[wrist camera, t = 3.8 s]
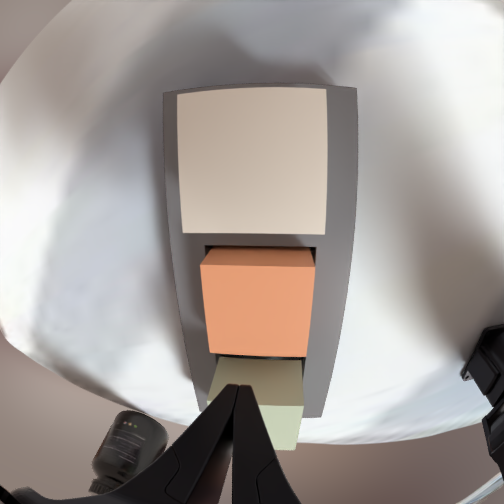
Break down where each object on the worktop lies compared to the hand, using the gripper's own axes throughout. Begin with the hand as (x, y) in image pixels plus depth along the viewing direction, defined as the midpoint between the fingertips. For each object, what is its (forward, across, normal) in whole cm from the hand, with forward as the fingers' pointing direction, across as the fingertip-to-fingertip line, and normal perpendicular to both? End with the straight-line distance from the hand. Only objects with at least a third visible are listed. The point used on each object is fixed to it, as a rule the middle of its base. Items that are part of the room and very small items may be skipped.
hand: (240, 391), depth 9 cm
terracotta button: (+9, 0, 0) cm, 9 cm away
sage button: (+7, 0, +8) cm, 11 cm away
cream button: (+7, 0, -7) cm, 10 cm away
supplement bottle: (+10, +14, +21) cm, 27 cm away
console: (+10, 0, 0) cm, 10 cm away
